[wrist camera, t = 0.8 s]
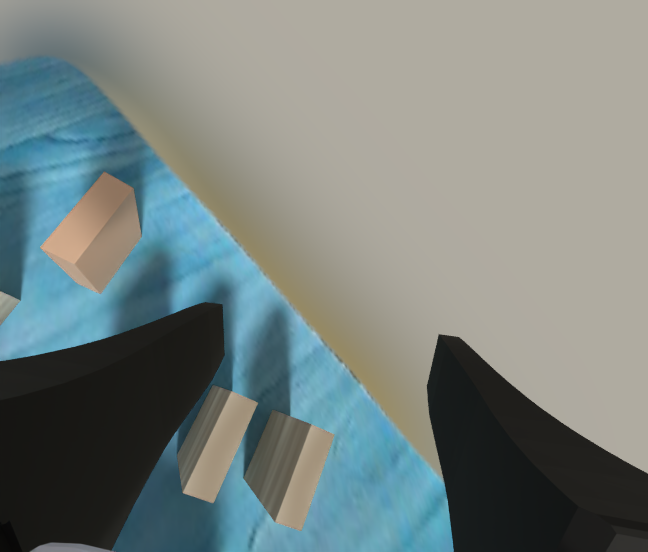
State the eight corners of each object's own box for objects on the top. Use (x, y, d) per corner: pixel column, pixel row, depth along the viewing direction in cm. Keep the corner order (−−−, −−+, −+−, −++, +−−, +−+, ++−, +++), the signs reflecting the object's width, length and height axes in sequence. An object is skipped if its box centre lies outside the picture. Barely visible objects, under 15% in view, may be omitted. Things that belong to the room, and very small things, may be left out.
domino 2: (176, 455, 24) (182, 493, 17) (212, 384, 26) (231, 391, 19) (198, 463, 24) (213, 503, 17) (232, 393, 26) (257, 402, 19)
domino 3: (243, 478, 25) (275, 522, 18) (272, 409, 27) (311, 424, 20) (263, 485, 25) (301, 531, 18) (290, 417, 27) (334, 434, 20)
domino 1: (77, 283, 24) (40, 247, 17) (120, 225, 26) (104, 171, 18) (100, 294, 24) (74, 264, 17) (141, 236, 26) (133, 188, 19)
